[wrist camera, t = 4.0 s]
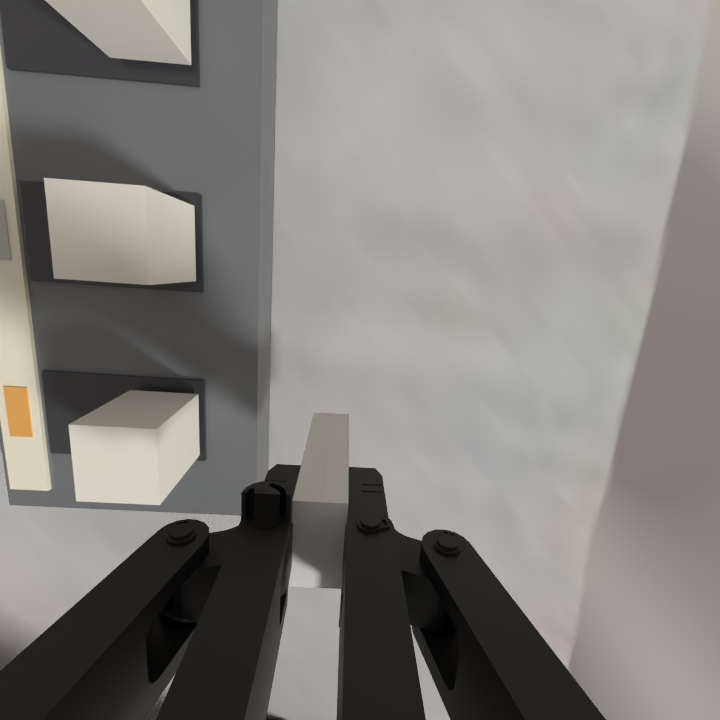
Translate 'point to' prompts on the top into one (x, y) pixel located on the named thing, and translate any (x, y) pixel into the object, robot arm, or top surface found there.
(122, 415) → the tab
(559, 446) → the top surface
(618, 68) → the top surface
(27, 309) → the switch bank
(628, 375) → the top surface
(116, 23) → the tab
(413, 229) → the top surface
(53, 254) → the tab
